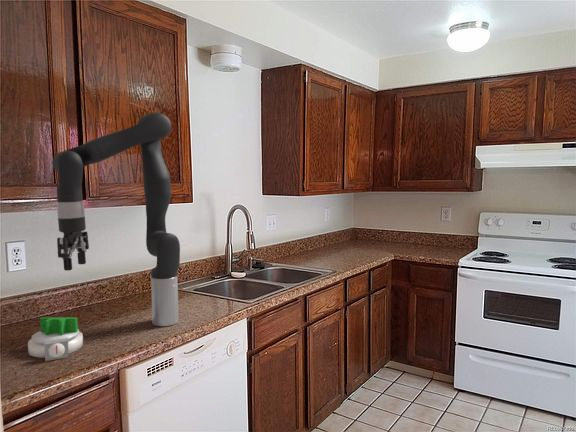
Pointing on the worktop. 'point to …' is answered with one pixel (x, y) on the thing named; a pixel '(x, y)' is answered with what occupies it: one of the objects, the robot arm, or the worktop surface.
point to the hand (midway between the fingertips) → (75, 267)
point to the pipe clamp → (58, 325)
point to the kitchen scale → (54, 345)
